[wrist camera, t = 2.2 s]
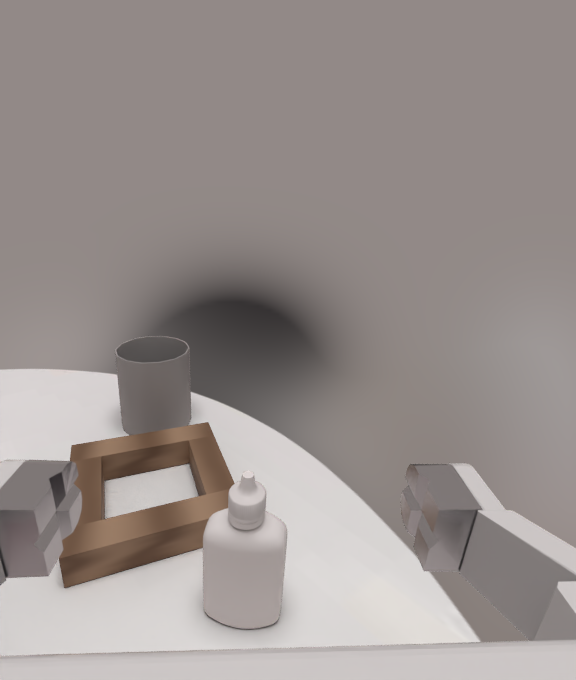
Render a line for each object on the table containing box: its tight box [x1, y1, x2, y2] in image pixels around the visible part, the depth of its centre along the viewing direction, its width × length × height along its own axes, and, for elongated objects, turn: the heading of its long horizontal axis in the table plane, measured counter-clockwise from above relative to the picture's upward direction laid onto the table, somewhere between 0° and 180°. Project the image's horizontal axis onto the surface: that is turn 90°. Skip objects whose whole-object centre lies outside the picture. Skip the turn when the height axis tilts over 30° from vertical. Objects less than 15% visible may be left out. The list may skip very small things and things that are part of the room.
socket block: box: [59, 422, 234, 588], centre depth 37 cm, size 14×14×3 cm
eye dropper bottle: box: [203, 471, 287, 629], centre depth 27 cm, size 4×6×12 cm
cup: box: [115, 336, 191, 435], centre depth 49 cm, size 8×8×10 cm
